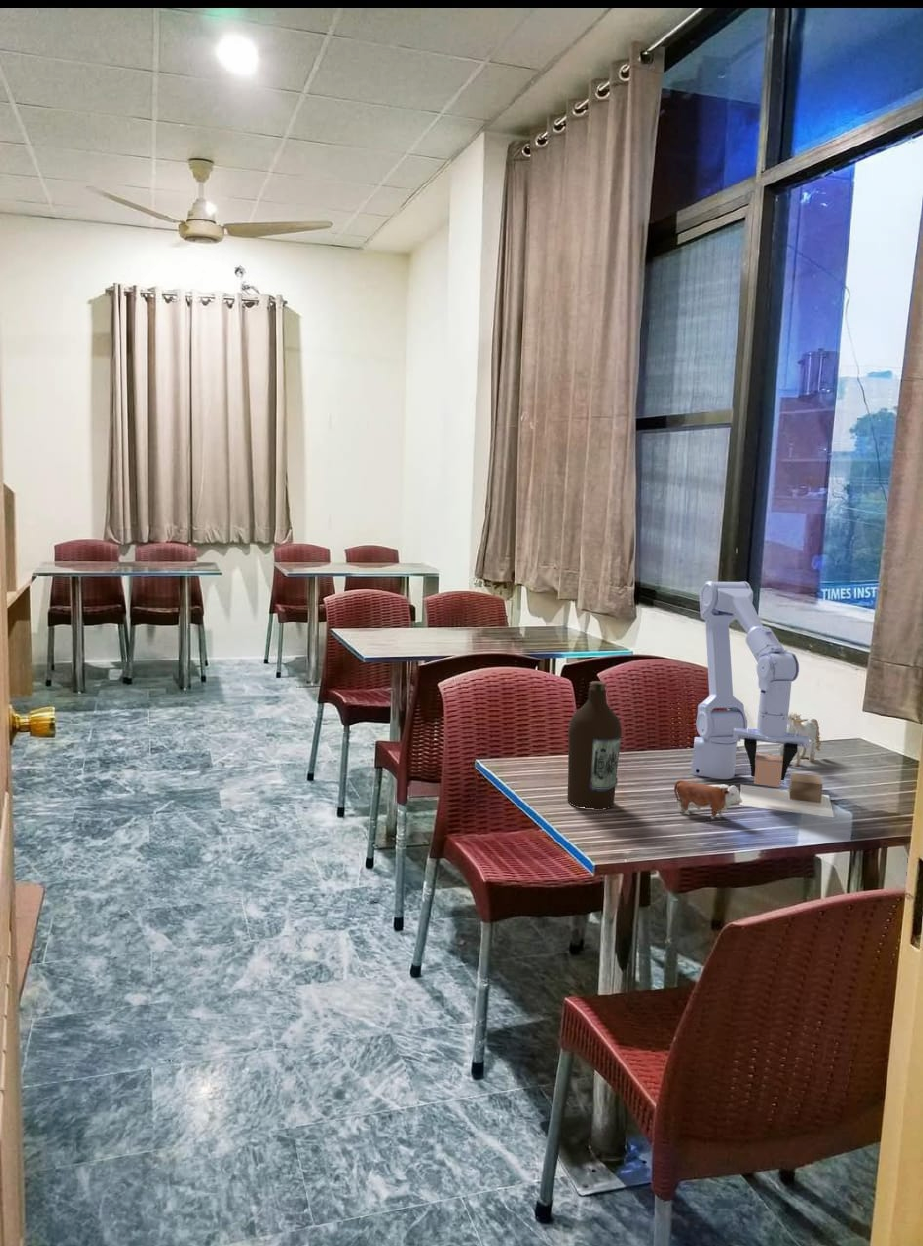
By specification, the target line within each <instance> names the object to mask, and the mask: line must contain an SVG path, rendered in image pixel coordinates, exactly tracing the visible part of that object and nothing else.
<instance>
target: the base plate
mask: <svg viewBox="0 0 923 1246" xmlns="http://www.w3.org/2000/svg"><path fill="white" fill-rule="evenodd" d="M739 792H740V798H741V799H742V802H741V803H738V804H739V805H738V806H743V807H744V806H745V807H750V808H756V809H757V808H759V809H767V810H774V811H780V812H788V813H789V812H790V813H796V814H805V815H811V816H817V817H818V816H820V817H826V818H827V817H828V818H835V816H834V811H833V807H832V803H831V798H830V795H827V794H822V795H821V803H815V802H807V801H799V800H792V799H790V795H789V789H788V790H787V789H780V788H773V787H772V788H771V787H763V786H762V787H761V786H756V785H755V786H754V785H749V784H748V785H745V784H740V786H739Z"/></svg>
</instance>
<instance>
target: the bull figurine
mask: <svg viewBox="0 0 923 1246" xmlns="http://www.w3.org/2000/svg"><path fill="white" fill-rule="evenodd" d="M673 788H674V790H673V791H674V796H675V798H676V804H677V808H678V809H677V810H679V812H682V811H684V814H685V815H691V813H690V811H689V805H690V803H692V804H694V805H695V807H696V808H697V810H700V809H701V807H703V808H704V807H705V808H711V816H710V819H712V820H715V817H716V816H717V814H718V817H720V818H722V817H724V816H723V811H726V810H727V809H729V808H730V806H731V805H733V804H740V803H741V802H742V799H741V798H740V786H736V785H731V786H729V785H728V784H719V785H718V784H711V785H710V784H703V783H700V782H699V783H697V782H692V781H688V780H687V781H686V780H678V781H676V783H675V784H674V787H673Z"/></svg>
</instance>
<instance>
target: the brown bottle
mask: <svg viewBox="0 0 923 1246" xmlns="http://www.w3.org/2000/svg"><path fill="white" fill-rule="evenodd" d="M606 686H607V683H606V682H605V681H599V680H595V681H594V680H592V681H591V682H589V688H588V699H587V701H586V702H585V703H584V704H583V705H582V706H581V707H580V708H578V710H577V711H576V712H575V713H573V715H572V717H571V718H570V720H569V724H568V731H567V733H568V734H567V735H568V736H567V737H568V739H567V740H568V742H567V743H568V744H567V745H568V746H567V747H568V749H567V750H568V753H567V754H568V758H567V759H568V763H567V770H568V771H567V802H568V804H569V803H571V804H573V805H575V806H578V807H585V808H594V809H603V808H608V807H611V808H612V807H613V806H614V804H615V795H616V794H615V793H616V787H617V786H618V779H619V778H618V777H617V775H618V766H619V758H620V750H621V742H622V733H623V732H622V729H623V728H622V725H621V721H620V719H619V717H618V715H617V714H616V712H614V710H612V708H611V707H610V706H609V704H608V703H607V702H606V698H607V697H606V696H607V690H606ZM571 804H570V805H571Z"/></svg>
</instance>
